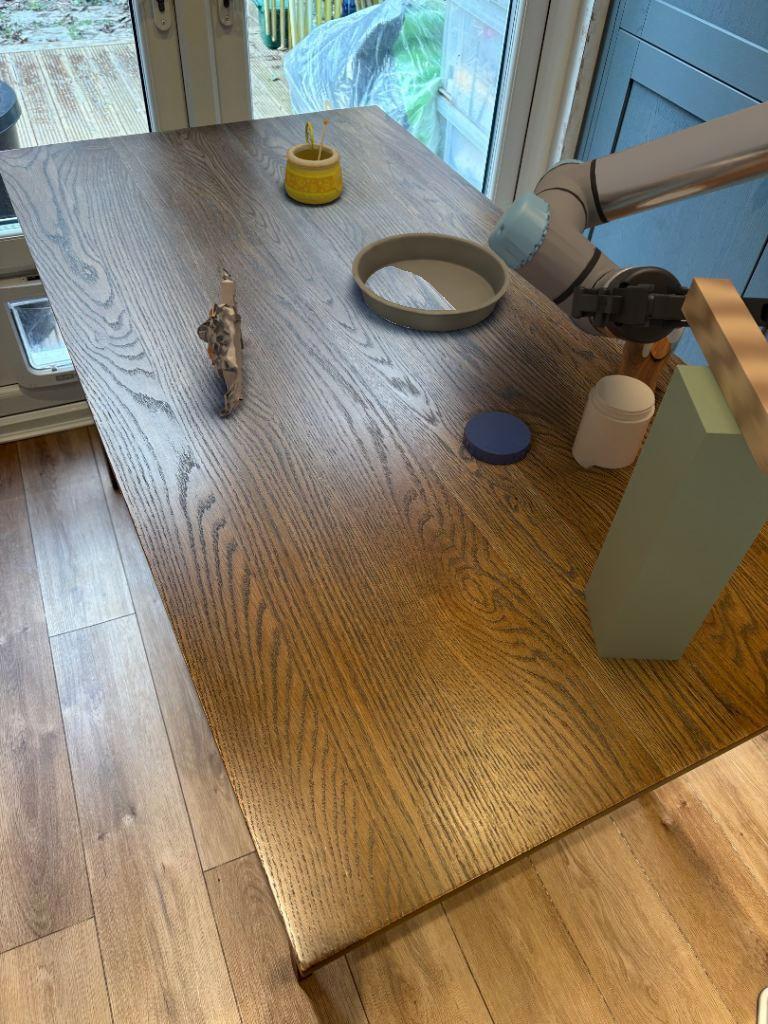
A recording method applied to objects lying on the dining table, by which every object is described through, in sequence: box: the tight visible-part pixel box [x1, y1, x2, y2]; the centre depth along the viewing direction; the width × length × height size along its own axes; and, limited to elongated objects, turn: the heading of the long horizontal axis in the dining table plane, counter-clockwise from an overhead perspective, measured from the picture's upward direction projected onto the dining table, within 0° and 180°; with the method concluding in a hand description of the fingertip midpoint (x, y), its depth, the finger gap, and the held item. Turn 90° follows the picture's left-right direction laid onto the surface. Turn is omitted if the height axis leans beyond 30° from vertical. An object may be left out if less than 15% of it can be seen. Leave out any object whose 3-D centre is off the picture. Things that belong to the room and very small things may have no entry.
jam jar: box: [571, 374, 656, 469], centre depth 92 cm, size 8×8×10 cm
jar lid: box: [462, 410, 532, 465], centre depth 95 cm, size 8×8×2 cm
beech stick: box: [681, 276, 768, 474], centre depth 55 cm, size 20×3×3 cm, turn 0°
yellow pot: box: [284, 118, 344, 205], centre depth 138 cm, size 13×11×12 cm
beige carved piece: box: [196, 266, 244, 419], centre depth 96 cm, size 15×4×13 cm, turn 6°
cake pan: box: [351, 232, 511, 332], centre depth 118 cm, size 25×25×4 cm
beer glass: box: [616, 295, 687, 396], centre depth 99 cm, size 7×7×15 cm
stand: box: [583, 364, 768, 661], centre depth 66 cm, size 8×8×30 cm
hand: (729, 311), depth 57 cm, fingers open, 13 cm apart
